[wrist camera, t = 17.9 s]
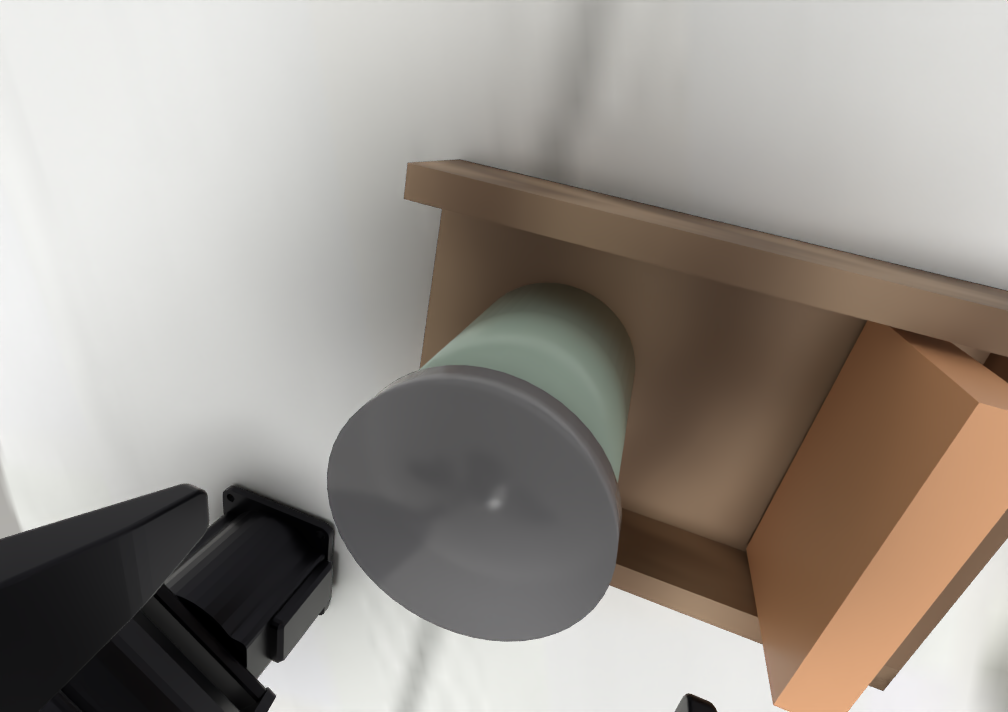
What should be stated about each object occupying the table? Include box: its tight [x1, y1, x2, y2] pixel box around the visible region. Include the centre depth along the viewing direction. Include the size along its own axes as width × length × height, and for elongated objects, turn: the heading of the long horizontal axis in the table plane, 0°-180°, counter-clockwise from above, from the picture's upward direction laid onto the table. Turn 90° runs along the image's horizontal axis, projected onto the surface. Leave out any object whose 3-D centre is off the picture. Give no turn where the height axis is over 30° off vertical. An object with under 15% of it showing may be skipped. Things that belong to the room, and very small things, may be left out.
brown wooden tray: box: [404, 159, 1008, 691], centre depth 17 cm, size 18×12×4 cm, turn 79°
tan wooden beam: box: [746, 320, 1008, 712], centre depth 14 cm, size 2×9×6 cm, turn 169°
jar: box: [327, 283, 635, 642], centre depth 15 cm, size 6×6×9 cm
